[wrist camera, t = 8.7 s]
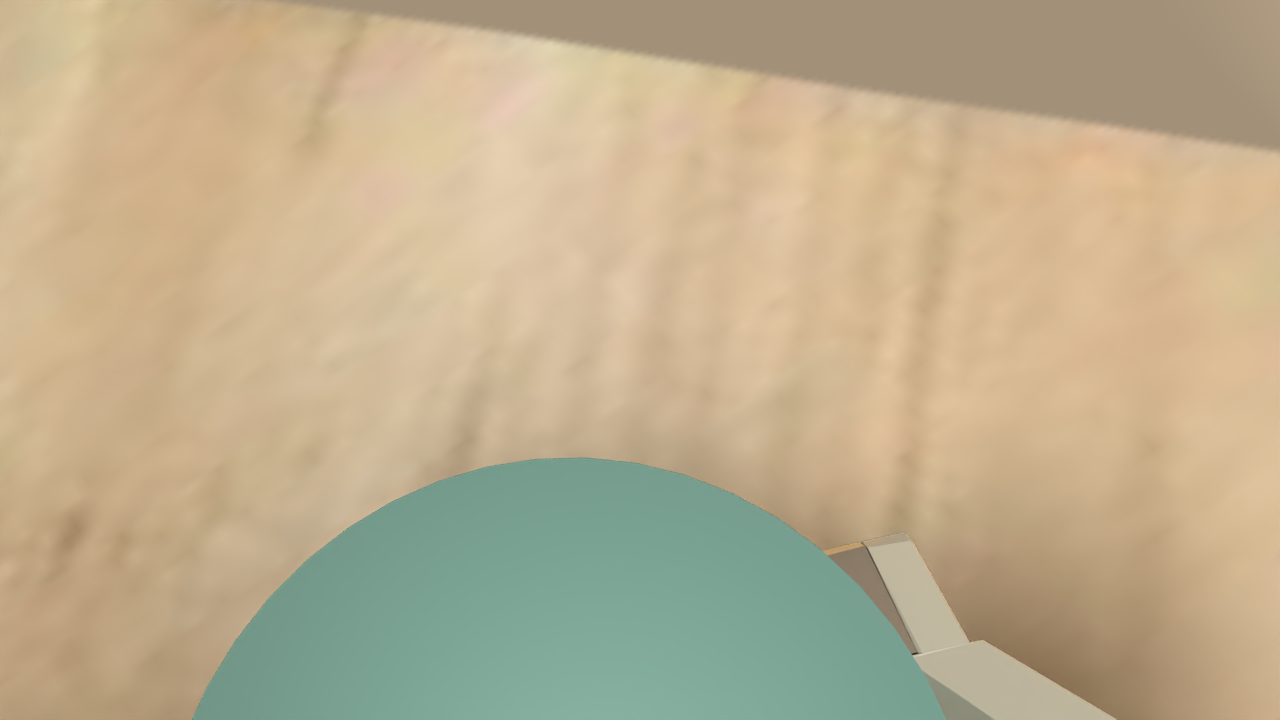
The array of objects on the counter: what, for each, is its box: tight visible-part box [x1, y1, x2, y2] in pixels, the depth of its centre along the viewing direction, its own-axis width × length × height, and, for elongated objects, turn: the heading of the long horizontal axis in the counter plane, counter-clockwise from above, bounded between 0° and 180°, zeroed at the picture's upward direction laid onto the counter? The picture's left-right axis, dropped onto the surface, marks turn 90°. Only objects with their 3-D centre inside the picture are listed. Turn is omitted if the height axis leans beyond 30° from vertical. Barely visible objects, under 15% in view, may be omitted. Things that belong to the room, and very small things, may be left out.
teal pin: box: [192, 458, 947, 720], centre depth 10 cm, size 4×4×12 cm
